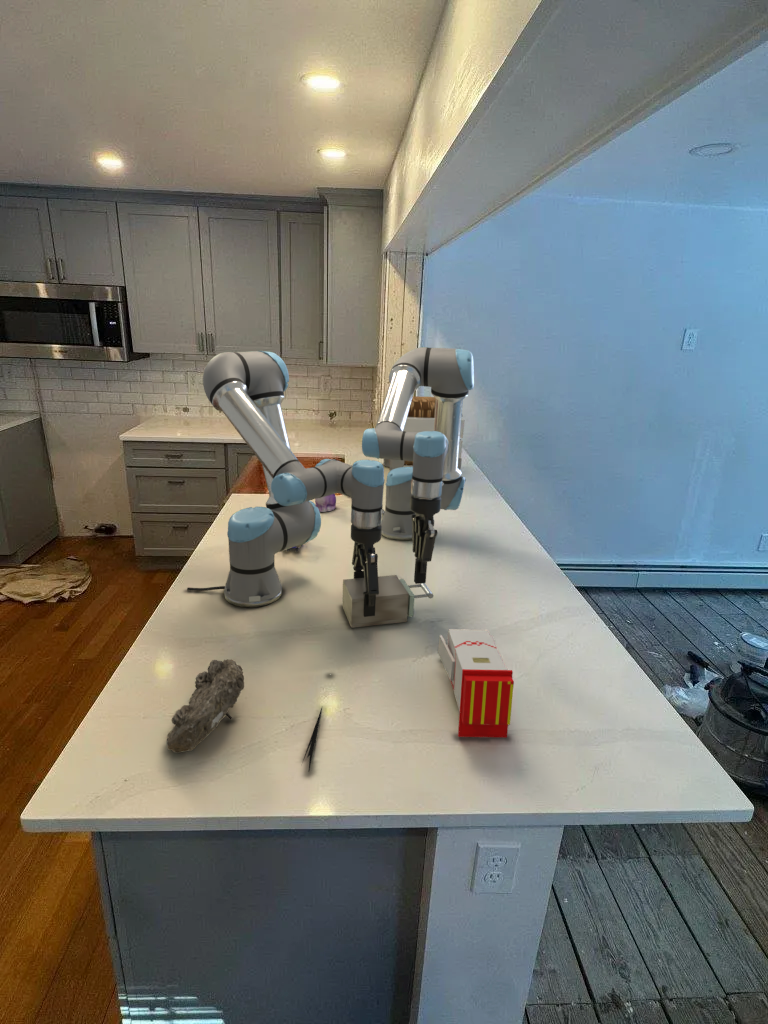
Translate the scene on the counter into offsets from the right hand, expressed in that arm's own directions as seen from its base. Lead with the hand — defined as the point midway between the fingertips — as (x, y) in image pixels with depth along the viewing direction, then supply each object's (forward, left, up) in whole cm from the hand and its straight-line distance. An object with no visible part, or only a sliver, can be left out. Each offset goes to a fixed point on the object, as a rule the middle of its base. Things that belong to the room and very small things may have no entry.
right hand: (419, 582), depth 147 cm
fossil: (+6, -60, -8) cm, 61 cm away
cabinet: (-5, -11, -8) cm, 14 cm away
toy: (+31, -15, -8) cm, 36 cm away
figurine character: (-55, -4, -8) cm, 55 cm away
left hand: (-7, -13, -5) cm, 16 cm away
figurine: (-79, +25, -8) cm, 83 cm away
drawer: (-3, -6, -7) cm, 10 cm away
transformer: (-95, +93, -8) cm, 133 cm away
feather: (+19, -44, -8) cm, 49 cm away
